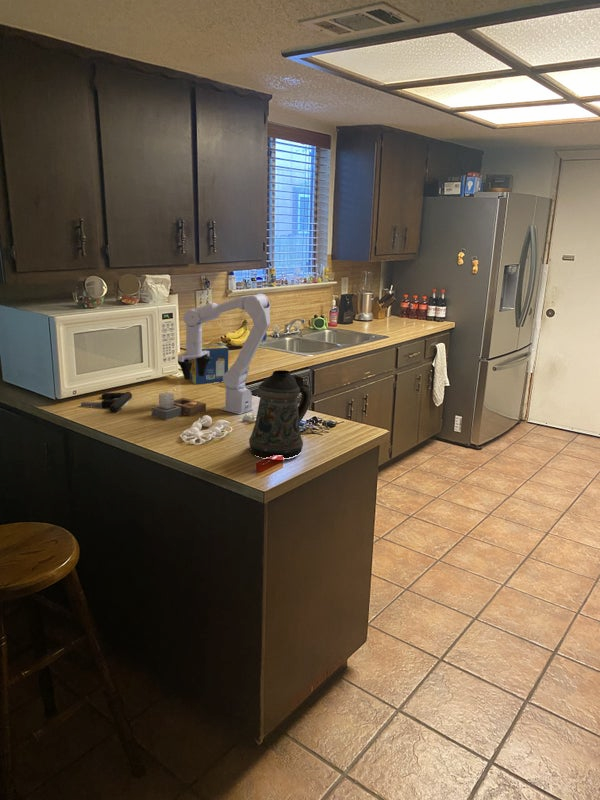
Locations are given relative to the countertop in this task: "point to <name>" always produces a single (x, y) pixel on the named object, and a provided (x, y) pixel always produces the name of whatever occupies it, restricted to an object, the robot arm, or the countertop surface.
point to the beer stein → (280, 416)
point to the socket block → (188, 409)
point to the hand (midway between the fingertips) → (194, 377)
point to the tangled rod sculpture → (197, 434)
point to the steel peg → (166, 401)
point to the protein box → (211, 364)
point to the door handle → (111, 401)
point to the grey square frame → (166, 412)
